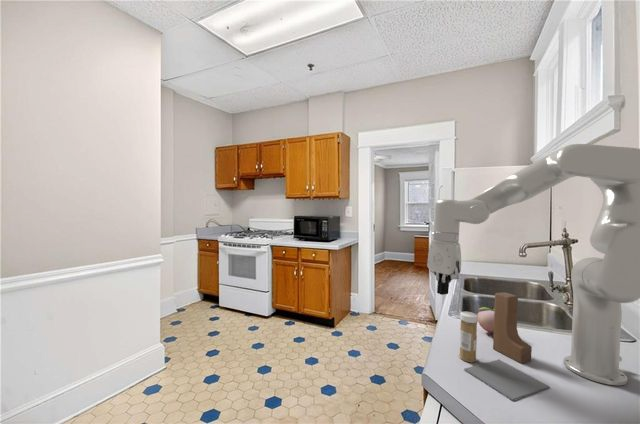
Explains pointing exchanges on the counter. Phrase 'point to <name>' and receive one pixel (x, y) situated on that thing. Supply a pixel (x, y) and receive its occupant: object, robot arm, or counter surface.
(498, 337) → the wooden block
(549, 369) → the counter surface
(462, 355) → the sprinkles bottle
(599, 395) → the counter surface
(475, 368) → the mat
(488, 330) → the decorative fruit
